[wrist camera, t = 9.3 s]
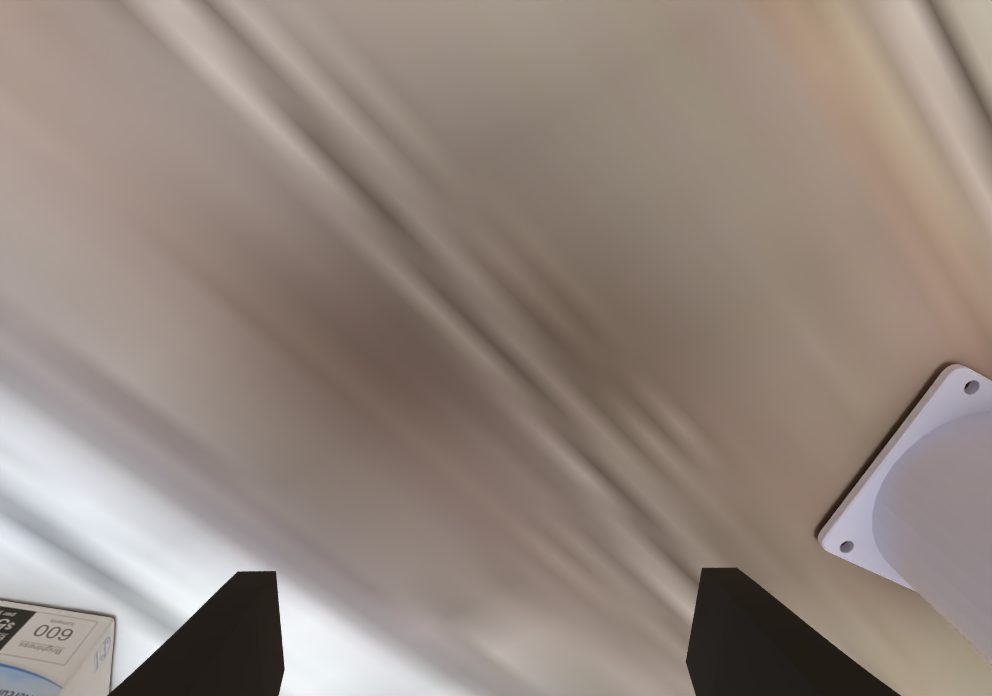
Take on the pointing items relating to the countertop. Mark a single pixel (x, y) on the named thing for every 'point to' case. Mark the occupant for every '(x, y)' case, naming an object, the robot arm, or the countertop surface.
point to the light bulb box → (54, 652)
